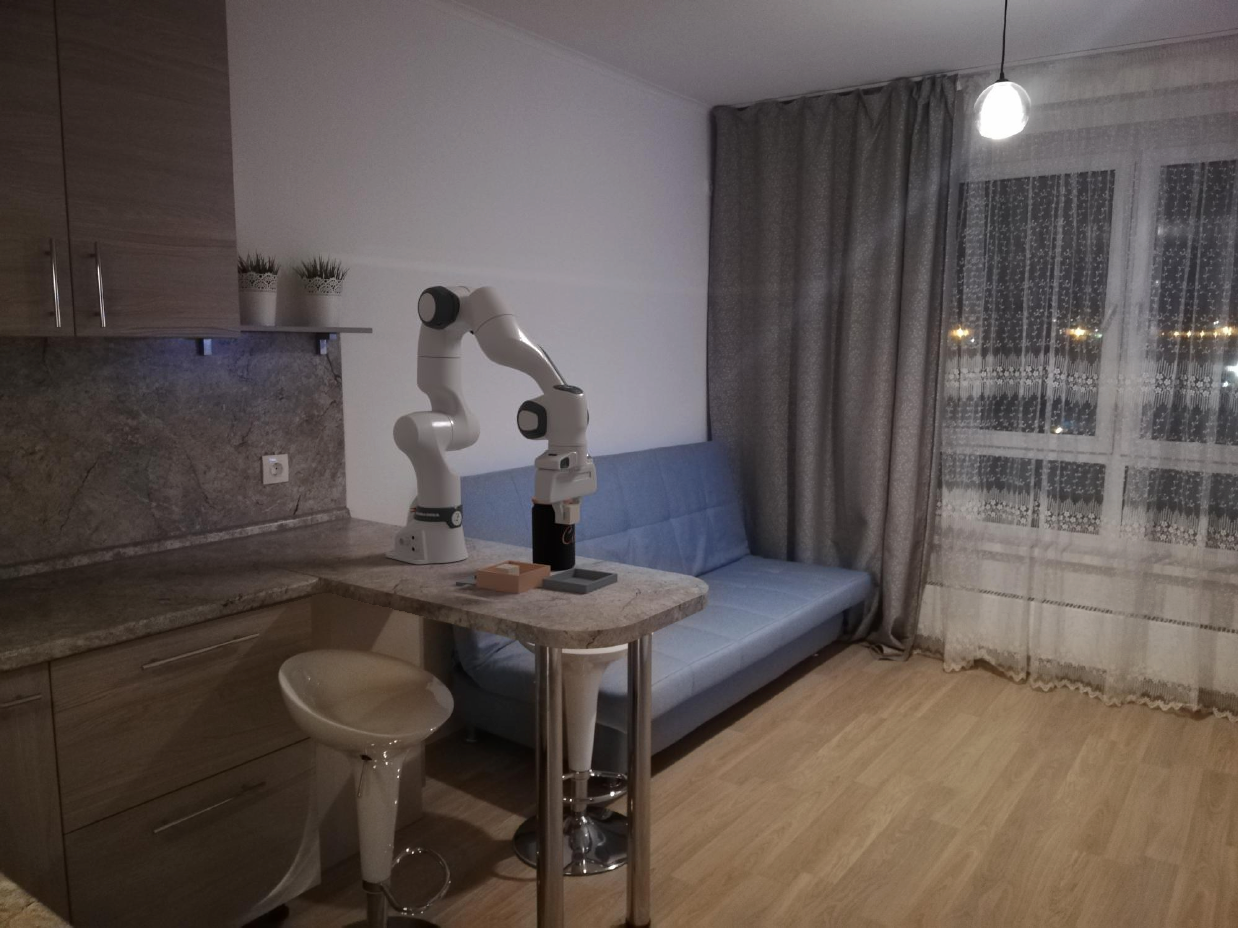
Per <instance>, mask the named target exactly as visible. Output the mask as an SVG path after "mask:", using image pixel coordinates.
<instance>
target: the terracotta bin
mask: <svg viewBox="0 0 1238 928" xmlns="http://www.w3.org/2000/svg"><path fill="white" fill-rule="evenodd" d="M503 564H510V565H517V566H519V575H512V574H506V573H499V572H495V567H497V566H500V565H503ZM475 574H476V578H477V585H476V588H481V589H488V590H492V591H493V590H495V591H500V592H507V593H513V594H516V595H517V594H518V595H519V594H523V593H525V592H528V591H531V590H533V589H536V588H539V587H542V579H543V578H546V577H549V576H551V571H550V566H548V565H541V564H533V562H525V561H518V560H510V559H509V560H505V561H502V562H498V563H495V564H492V565H488V566H485V567H482V568H478V569H476V571H475Z"/></svg>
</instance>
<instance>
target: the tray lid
mask: <svg viewBox="0 0 1238 928" xmlns="http://www.w3.org/2000/svg"><path fill="white" fill-rule="evenodd" d="M467 585H472V586H477V578H476V573H475V574H472V575H469V576H467V577H464V578H462V579H460V580H457V581H455V586H462V587H464V586H467Z"/></svg>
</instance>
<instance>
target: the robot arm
mask: <svg viewBox="0 0 1238 928" xmlns="http://www.w3.org/2000/svg"><path fill="white" fill-rule="evenodd" d="M417 314H418V317H419V319H420V322H421V324H420V329H419V335H418V341H417V354H416V355H417V358H416V359H417V360H416V361H417V362H416V363H417V366H416V383H417V384H416V385H417V387H418V389H419V390H420V391H421V392H422V393H424V394H425V395H426V396H427V397H428V399H429V401H430V404H431V405H430V406H431V410H423V411H420V410H419V411H413V412H411V413H407V414H405V415H401V416H400V417H399V418H398V419H396V421H395V422H394V425H393V430H392V436H393V440H394V443H395V445H396V446H397V449H399V450H400V451H401V452H402V453H403V454H404V455H406V456H407V458H408V459H409V461H410V462H411V464H412V467H413V470H414V473H415V477H416V486H417V506H416V507H410V510H411V511H410V513H414V514H413V519H412V520H411V521H410V522H408V523H407V524H406V525H405V526H404V527H403V528H401V529H400V530H399V531H398V532H397V533H396V535H395V538H394V548H393V549H391V550H388V551H387V552H385V558H389V559H393V560H398V561H400V562H405V563H408V564H413V565H426V564H428V565H429V564H445V563H453V562H458V561H462V560H466V559H467V558H469V553H468V550H467V546H466V541H465V535H464V527H463V518H464V508H463V503H462V499H461V498H462V494H461V491H462V489H461V486H462V485H461V476H460V474H459V472H458V471H457V470H455V469H454V468H453V467H451V466H450V465H449V463H448V460H447V457H446V452H455V451H461V450H463V449H466V448H469V447H472V446H473V445H474V444H476V442H477V441H478V440H479V438H480V434H481V426H480V423H479V420H478V417H477V416H476V415H475V414H474V413H473V412H472V411H471V410H470V408H469V407H468V405H467V403H466V401H465V397H464V394H463V388H462V372H461V371H462V358H461V357H462V339H463V337H464V335H465V334H466V333H469V334H471V335H474V337H475V339H476V341H477V344H478V346H479V348H480V350H482V353H483V354H484V355H485V356H486V357H487V358H488V359H489V361H491V362H493V363H495V364H497V365H499V366H503V367H507V368H510V369H513V370H517V371H519V372H521V373H523V374H526V375H528V376H529V377H530V378H531V379H533V381H535V382H536V384H537V385H538V387H539V389H540V390H541V391H542V393H543V394H541V395H540V396H537V397H533V398H531V399H528V400H525V401H523V403H521V404H520V406H519V407H518V410H517V413H516V414H517V415H516V425H517V428H518V430H519V432H520V434H521V435H522V437H524V438H525V439H527V440H532V441H545V440H546V441H548V442H547V449H546V450H545V451H543V453H541V454H540V455H538V456H537V457H536V458H534V465H533V466H534V468H536V469H537V470H536V471H535V474H534V497H535V498H536V500H537V502H538V503H544V504H551V503H552V506H553V508H554V511H555V518H556V520H564V519H565V515H566V512H563V508H562V505H563V500H568V499H571V500H572V504H579V505H580V506H581V505H582V502H583V497H585V496H587V495H588V496H589V495H593V494H595V493H596V491H597V488H598V481H597V480H598V479H597V469H596V465H595V464H594V459H593V457H592V456H591V455H590V454H589V453H588V441H587V435H586V431H587V429H588V426H589V422H590V414H589V409H588V404H587V397H586V394H585V392H584V390H583V389H582V388H580V387H579V386H578V387H577V386H576V385H569V384H568V383H567V381H566V380H565V378H564V377H563V375H562V374H561V373H560V371H559V369H558V368H557V366H556V365H555V363H554V362H553V360H552V359H551V357H550V356H549V355H548V353H547V352H546V351H545V350H544V348H543V347H541V346H540V345H539V344H538V343H537V342H536V341H535V340H534V339H533V338H532V336H530V335H529V333H527V331H526V330H525V328H524V327H523V325H522V324H521V322H520V321H519V318H518V316H517V315H516V312H515V311H514V309H513V308H512V306H511V304H510V303H509V301H508V300H507V299H506V298H505V296H504V295H503V293H501V291H499V289H498V288H495V287H492V286H481V287H478V288H477V287H472V286H465V285H460V286H442V285H435V286H429V287H427V288H425V289H424V290H423V291H422V292H421V293H420V296H419V298H418V301H417Z"/></svg>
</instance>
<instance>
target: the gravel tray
mask: <svg viewBox="0 0 1238 928" xmlns="http://www.w3.org/2000/svg"><path fill="white" fill-rule="evenodd" d="M616 583H618V573H616V572H608V571H601V570H594V569H586V568H579V567H573V568H571V569H568V570H563V571H560V572H558V573H556V574H551V575H550V576H549V577H546V578H543V579H542V586H541V587H542V588H546V589H553V590H558V591H559V590H560V591H565V592H571V593H577V594H584V595H585V594H586V595H587V594H591V593H593V592H595V591H597V590H601V589H603V588H606V587H608V586H610V585H612V584H616Z"/></svg>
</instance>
